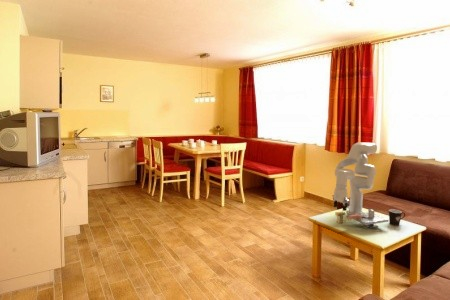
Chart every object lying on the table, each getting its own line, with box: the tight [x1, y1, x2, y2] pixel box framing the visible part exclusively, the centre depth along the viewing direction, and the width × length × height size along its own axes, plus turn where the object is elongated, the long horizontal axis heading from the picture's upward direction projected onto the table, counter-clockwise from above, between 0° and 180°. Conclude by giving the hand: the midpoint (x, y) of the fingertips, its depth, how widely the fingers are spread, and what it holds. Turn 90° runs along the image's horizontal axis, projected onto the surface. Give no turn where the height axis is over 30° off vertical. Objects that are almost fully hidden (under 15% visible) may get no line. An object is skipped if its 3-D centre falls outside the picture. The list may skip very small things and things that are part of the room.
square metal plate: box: [346, 208, 389, 229], centre depth 220 cm, size 18×21×12 cm
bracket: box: [348, 213, 361, 221], centre depth 216 cm, size 6×8×3 cm
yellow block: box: [334, 210, 346, 224], centre depth 228 cm, size 3×7×8 cm, turn 109°
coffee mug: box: [388, 208, 406, 227], centre depth 224 cm, size 12×9×10 cm
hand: (339, 208), depth 227 cm, fingers open, 9 cm apart
